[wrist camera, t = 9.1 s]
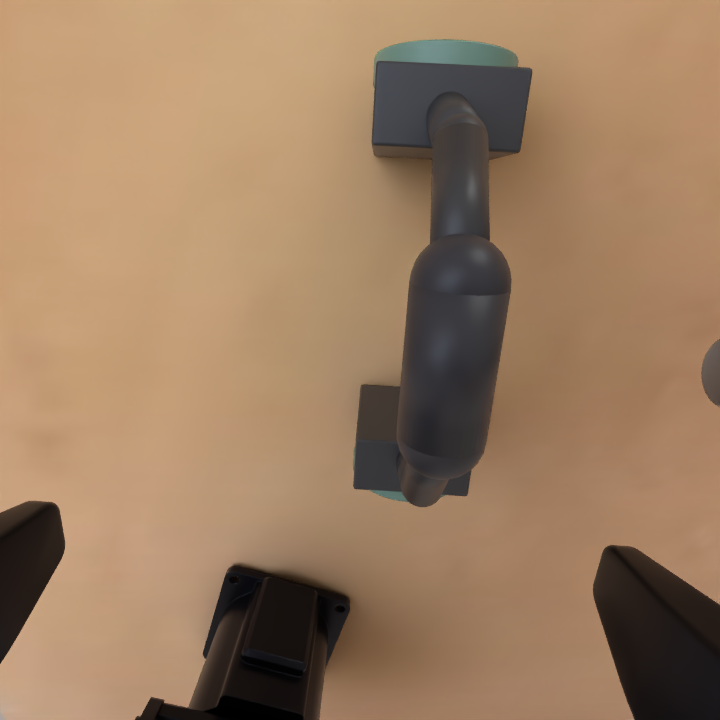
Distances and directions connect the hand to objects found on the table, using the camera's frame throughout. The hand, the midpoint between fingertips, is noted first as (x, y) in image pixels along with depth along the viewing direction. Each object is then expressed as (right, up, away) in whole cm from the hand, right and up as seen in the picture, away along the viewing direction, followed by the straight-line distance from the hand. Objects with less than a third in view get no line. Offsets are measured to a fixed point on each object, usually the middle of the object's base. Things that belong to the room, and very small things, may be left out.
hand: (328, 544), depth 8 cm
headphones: (+3, +6, +11) cm, 13 cm away
